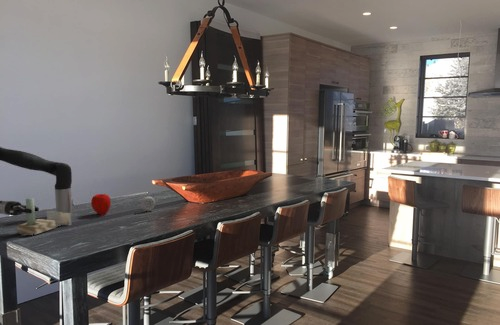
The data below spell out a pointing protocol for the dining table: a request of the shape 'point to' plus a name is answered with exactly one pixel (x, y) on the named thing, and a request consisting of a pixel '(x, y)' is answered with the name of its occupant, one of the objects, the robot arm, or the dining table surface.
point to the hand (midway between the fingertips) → (34, 210)
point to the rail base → (58, 218)
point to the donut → (145, 200)
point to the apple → (101, 203)
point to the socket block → (36, 227)
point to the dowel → (31, 216)
